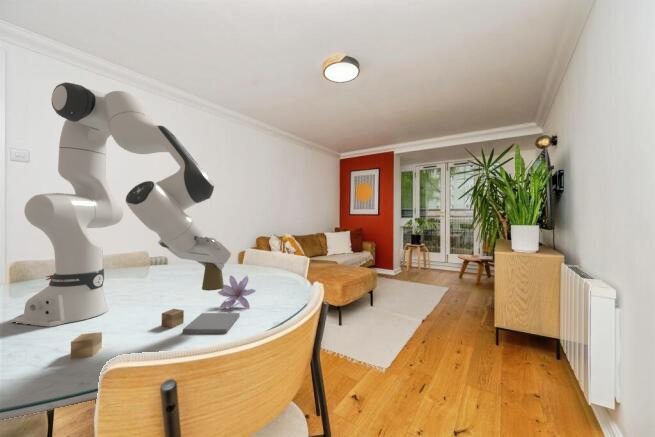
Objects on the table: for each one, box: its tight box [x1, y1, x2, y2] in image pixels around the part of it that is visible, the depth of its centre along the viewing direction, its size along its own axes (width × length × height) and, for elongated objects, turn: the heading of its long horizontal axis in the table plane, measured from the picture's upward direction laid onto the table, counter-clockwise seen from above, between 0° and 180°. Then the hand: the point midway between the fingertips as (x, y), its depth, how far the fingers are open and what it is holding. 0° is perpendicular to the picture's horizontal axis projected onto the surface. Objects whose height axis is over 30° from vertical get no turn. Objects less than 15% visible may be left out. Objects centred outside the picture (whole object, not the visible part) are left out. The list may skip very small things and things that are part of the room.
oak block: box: [70, 331, 103, 360], centre depth 61 cm, size 4×4×4 cm
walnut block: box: [161, 308, 185, 329], centre depth 77 cm, size 4×4×4 cm
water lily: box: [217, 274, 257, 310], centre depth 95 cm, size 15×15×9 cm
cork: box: [201, 262, 225, 292], centre depth 77 cm, size 6×6×11 cm
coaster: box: [182, 312, 240, 335], centre depth 77 cm, size 12×12×1 cm
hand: (215, 266), depth 78 cm, fingers closed on cork, 4 cm apart
